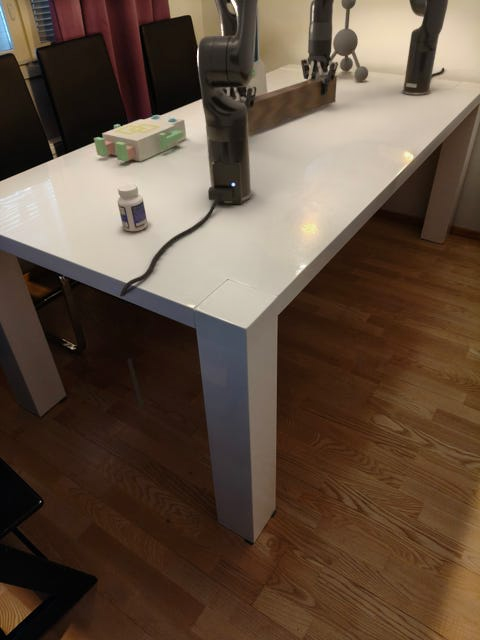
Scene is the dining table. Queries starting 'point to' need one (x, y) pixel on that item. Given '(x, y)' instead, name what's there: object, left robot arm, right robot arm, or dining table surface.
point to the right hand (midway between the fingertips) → (317, 93)
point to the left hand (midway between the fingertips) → (238, 121)
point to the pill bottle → (131, 208)
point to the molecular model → (348, 46)
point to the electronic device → (258, 66)
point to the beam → (289, 103)
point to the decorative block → (141, 138)
